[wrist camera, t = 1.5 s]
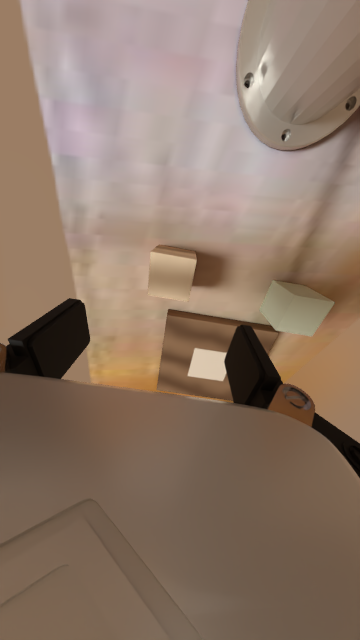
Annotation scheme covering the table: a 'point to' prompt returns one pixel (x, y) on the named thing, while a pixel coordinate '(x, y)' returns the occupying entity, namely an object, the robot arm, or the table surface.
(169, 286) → the maple block
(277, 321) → the sage block
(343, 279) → the table surface
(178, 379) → the walnut board
